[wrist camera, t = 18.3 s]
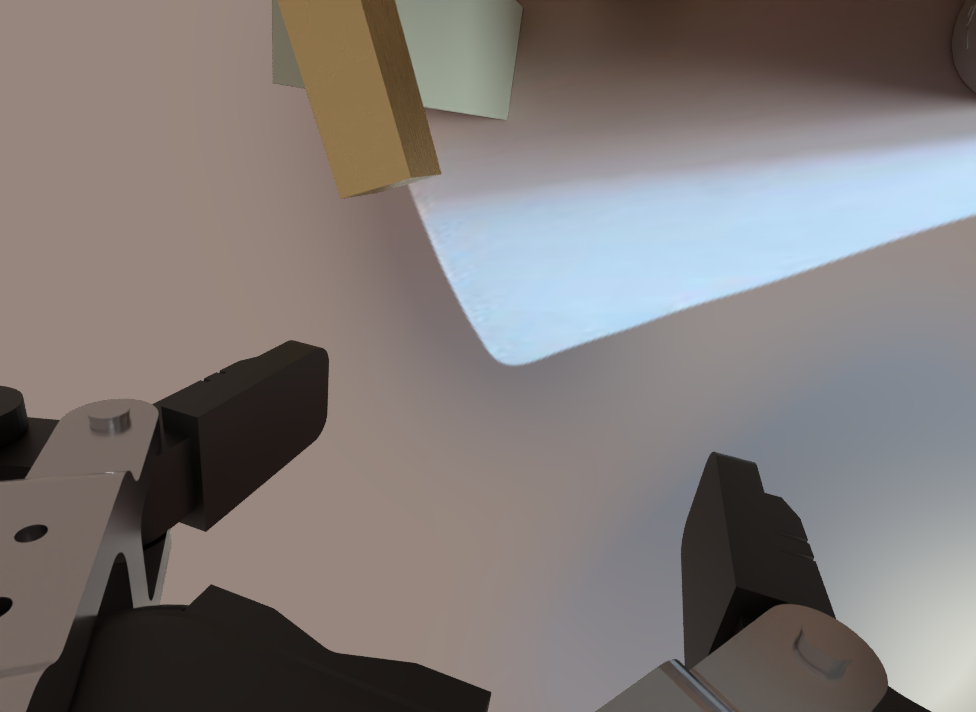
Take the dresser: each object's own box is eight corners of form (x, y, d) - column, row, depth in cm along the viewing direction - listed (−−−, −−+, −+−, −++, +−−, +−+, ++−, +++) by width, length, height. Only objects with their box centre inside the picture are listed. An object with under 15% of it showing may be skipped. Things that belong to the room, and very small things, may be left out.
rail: (336, -218, 22) (282, -279, 19) (441, 174, 26) (410, 178, 23) (267, -176, 23) (205, -225, 20) (378, 192, 28) (340, 198, 24)
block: (523, 7, 43) (398, -114, 23) (507, 120, 46) (384, 100, 26) (449, -1, 44) (270, -122, 24) (438, 109, 47) (272, 83, 27)
